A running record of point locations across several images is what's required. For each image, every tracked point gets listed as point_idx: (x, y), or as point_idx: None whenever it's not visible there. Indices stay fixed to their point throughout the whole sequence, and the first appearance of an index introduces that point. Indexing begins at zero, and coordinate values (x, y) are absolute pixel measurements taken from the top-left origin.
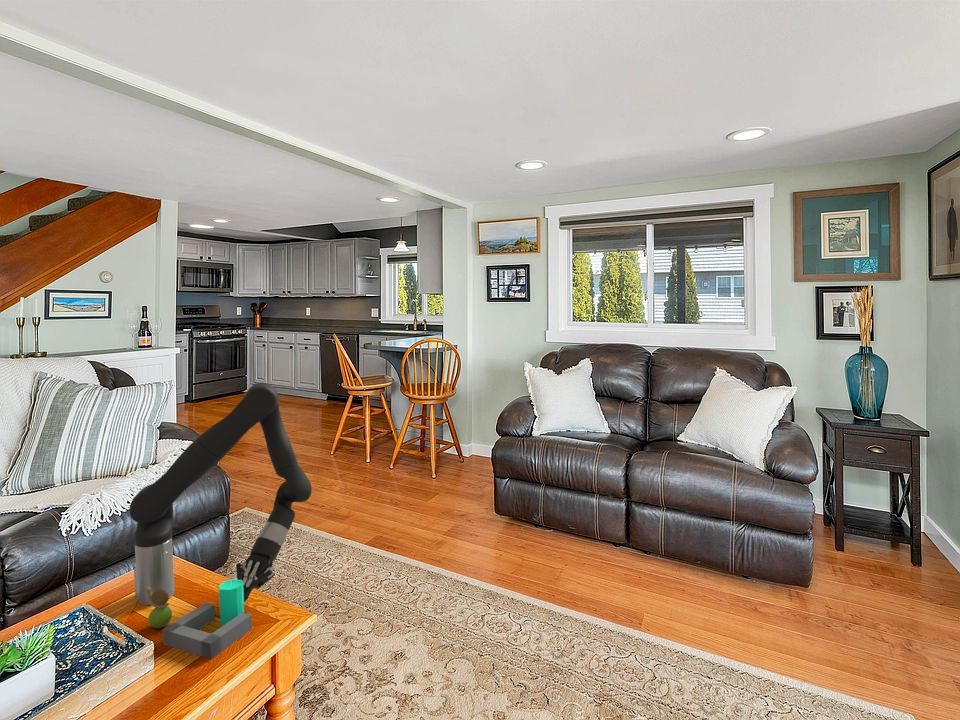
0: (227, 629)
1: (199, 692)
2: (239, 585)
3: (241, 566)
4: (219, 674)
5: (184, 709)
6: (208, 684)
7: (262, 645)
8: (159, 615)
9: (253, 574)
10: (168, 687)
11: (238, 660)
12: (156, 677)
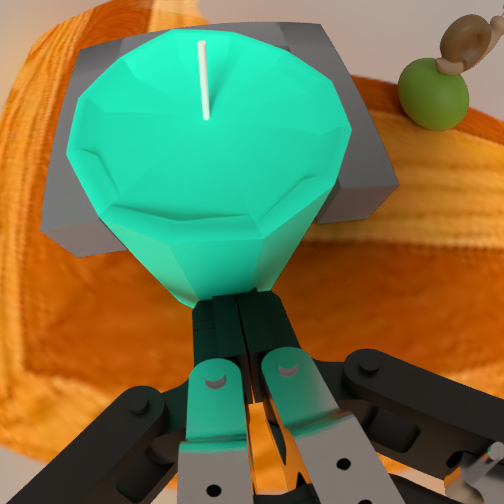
0: (73, 105)
1: (50, 48)
2: (115, 167)
3: (499, 456)
4: (39, 84)
5: (53, 28)
6: (45, 62)
7: None
8: (416, 62)
9: (189, 481)
10: (125, 20)
11: (20, 131)
12: (181, 15)
